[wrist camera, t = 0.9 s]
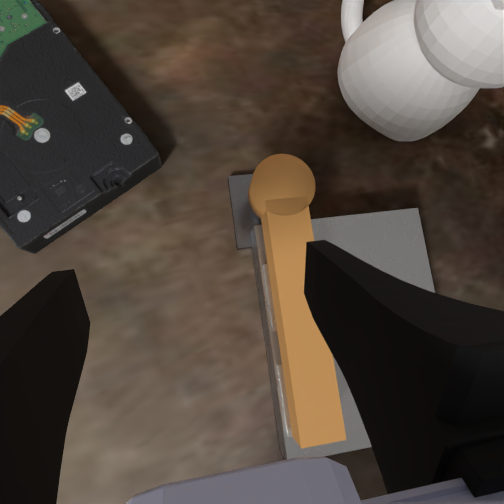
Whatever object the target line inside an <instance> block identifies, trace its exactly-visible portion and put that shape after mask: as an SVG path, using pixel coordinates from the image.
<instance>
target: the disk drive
mask: <svg viewBox="0 0 504 504" xmlns="http://www.w3.org/2000/svg"><path fill="white" fill-rule="evenodd" d="M161 167H162V163H161V159H160V155H159V153H158V151H157V150H156V148H155V147H154V146H153V145H152V143H151V142H150V141H149V139H148V137H147V135H146V134H145V133H144V132H143V131H142V129H141V128H140V127H139V125H138V124H137V123H136V122H135V121H133V120H132V118H131V117H130V116H129V114H128V113H127V111H126V110H125V109H124V108H123V106H122V105H121V104H120V103H119V102H118V100H117V99H116V98H115V97H114V95H113V94H112V93H111V92H110V90H109V89H108V88H107V87H106V85H105V84H104V83H103V81H102V80H101V79H100V78H99V76H98V75H97V74H96V73H95V72H94V70H93V69H92V68H91V66H90V65H89V64H88V63H87V61H86V60H85V59H84V58H83V57H82V55H81V54H80V53H79V52H78V50H77V49H76V47H75V46H74V45H73V44H72V43H71V41H70V40H69V39H68V37H67V36H66V35H65V33H64V32H63V31H62V30H61V29H60V28H59V27H58V25H57V24H56V23H55V21H54V20H53V18H52V17H51V15H50V14H49V13H48V12H47V10H46V9H45V7H44V6H43V5H42V4H41V3H39V1H38V0H0V227H1V228H2V229H3V230H4V232H6V233H7V235H8V236H9V237H10V239H11V240H12V241H13V242H14V243H15V245H16V246H17V247H18V248H20V249H23V250H25V251H28V252H31V253H34V254H35V253H37V252H38V251H40V250H41V249H43V248H44V247H46V246H47V245H48V244H50V243H51V242H53V241H54V240H55V239H57V238H59V237H60V236H62V235H63V234H65V233H66V232H68V231H69V230H71V229H72V228H73V227H75V226H76V225H78V224H79V223H81V222H82V221H84V220H86V219H87V218H88V217H90V216H91V215H93V214H94V213H96V212H97V211H98V210H100V209H101V208H103V207H104V206H106V205H107V204H109V203H110V202H112V201H113V200H115V199H116V198H117V197H119V196H120V195H122V194H123V193H125V192H126V191H128V190H129V189H131V188H132V187H134V186H135V185H137V184H138V183H139V182H141V181H142V180H143V179H145V178H146V177H148V176H149V175H150V174H152V173H154V172H155V171H157V170H158V169H160V168H161Z"/></svg>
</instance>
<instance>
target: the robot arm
mask: <svg viewBox="0 0 504 504" xmlns="http://www.w3.org/2000/svg"><path fill="white" fill-rule="evenodd" d="M304 295H305V298H306V301H307V304H308V306H309V309H310V312H311V314H312V317H313V319H314V321H315V323H316V325H317V327H318V329H319V331H320V332H321V334H322V336H323V338H324V340H325V342H326V344H327V345H328V347H329V349H330V351H331V353H332V355H333V357H334V358H335V360H336V362H337V364H338V366H339V368H340V369H341V371H342V373H343V376H344V378H345V380H346V382H347V384H348V386H349V389H350V391H351V394H352V396H353V399H354V401H355V404H356V406H357V409H358V411H359V414H360V416H361V419H362V422H363V424H364V427H365V430H366V432H367V435H368V438H369V440H370V443H371V446H372V449H373V452H374V454H375V457H376V460H377V463H378V466H379V469H380V472H381V474H382V477H383V481H384V484H385V487H386V490H387V493H388V494H387V495H383V496H378V497H374V498H369V499H365V500H360V498H359V496H358V493H357V491H356V488H355V486H354V483H353V481H352V479H351V476H350V474H349V471H348V469H347V467H346V466H344V465H342V464H340V463H337V462H335V461H333V460H331V459H329V458H326V457H323V456H318V457H296V458H291V459H286V460H282V461H277V462H272V463H267V464H262V465H257V466H252V467H247V468H242V469H237V470H232V471H228V472H223V473H218V474H213V475H208V476H203V477H198V478H193V479H188V480H183V481H178V482H174V483H169V484H164V485H161V486H158V487H156V488H153V489H150V490H147V491H145V492H142V493H139V494H136V495H135V496H134V497H133V498H132V499H130V500H129V501H128V502H127V503H126V504H504V311H500V310H495V309H491V308H486V307H482V306H478V305H474V304H470V303H466V302H462V301H459V300H456V299H452V298H449V297H446V296H442V295H439V294H436V293H433V292H431V291H428V290H425V289H423V288H420V287H417V286H415V285H412V284H410V283H407V282H405V281H403V280H400V279H398V278H396V277H394V276H392V275H390V274H388V273H386V272H383V271H381V270H379V269H378V268H376V267H374V266H372V265H370V264H368V263H366V262H364V261H363V260H361V259H359V258H357V257H355V256H354V255H352V254H350V253H348V252H347V251H345V250H343V249H341V248H340V247H338V246H336V245H334V244H332V243H330V242H328V241H326V240H318V241H310V242H306V261H305V280H304ZM89 329H90V320H89V317H88V314H87V311H86V307H85V304H84V301H83V297H82V294H81V291H80V287H79V284H78V281H77V277H76V274H75V271H74V269H73V270H64V271H56V272H52V273H50V274H49V275H48V276H46V277H45V278H44V279H43V280H42V281H40V282H39V283H38V284H37V285H36V286H35V287H34V288H32V289H31V290H30V291H29V292H28V293H27V294H26V295H24V296H23V297H22V298H21V299H20V300H19V301H18V302H16V303H15V304H14V305H13V306H12V307H11V308H9V309H8V310H7V311H6V312H5V313H3V314H2V315H1V316H0V504H56V501H57V493H58V485H59V478H60V470H61V463H62V456H63V449H64V443H65V436H66V431H67V426H68V422H69V417H70V413H71V410H72V406H73V402H74V399H75V395H76V391H77V388H78V384H79V380H80V376H81V373H82V369H83V365H84V361H85V357H86V353H87V347H88V339H89Z"/></svg>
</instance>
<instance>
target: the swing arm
mask: <svg viewBox="0 0 504 504" xmlns="http://www.w3.org/2000/svg"><path fill="white" fill-rule="evenodd" d="M314 194H315V179H314V176H313V173H312V171H311V170H310V168H309V167H308V166H307V164H306V163H304V162H303V161H302V160H301V159H299V158H297V157H295V156H292V155H289V154H275V155H272V156H269V157H267V158H266V159H264V160H263V161H262V162H260V164H259V165H258V166H257V167H256V169H255V171H254V174H253V177H252V179H251V182H250V185H249V189H248V199H249V203H250V206H251V208H252V210H253V211H254V212H255V214H256V215H257V216H258V217H260V218H261V221H262V228H263V235H264V242H265V249H266V256H267V263H268V270H269V277H270V284H271V291H272V298H273V305H274V312H275V319H276V326H277V333H278V340H279V347H280V354H281V361H282V367H283V374H284V381H285V388H286V395H287V402H288V409H289V416H290V423H291V430H292V437H293V438H294V439H295V441H296V442H297V443H298V445H299V446H300V448H301V449H302V448H307V447H312V446H318V445H323V444H328V443H333V442H338V441H343V440H346V433H345V427H344V421H343V415H342V409H341V403H340V396H339V390H338V384H337V378H336V372H335V366H334V359H333V355H332V353H331V351H330V349H329V347H328V345H327V344H326V342H325V340H324V338H323V336H322V334H321V332H320V331H319V329H318V327H317V325H316V323H315V321H314V319H313V317H312V314H311V312H310V309H309V306H308V304H307V301H306V298H305V295H304V280H305V261H306V242H310V241H314V236H313V230H312V224H311V218H310V211H309V204H310V203H311V201H312V199H313V197H314Z"/></svg>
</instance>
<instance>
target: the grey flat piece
mask: <svg viewBox="0 0 504 504" xmlns="http://www.w3.org/2000/svg"><path fill="white" fill-rule="evenodd" d="M252 177H253V174H247V175H235V176H228V185H229V193H230V200H231V208H232V215H233V223H234V230H235V238H236V245H237V250H239V249H247V248H252V247H253V245H252V237H251V230H252V229H253V227H254V225H262V221H261V218H260V217H258V216H257V215H256V214H255V212H254V211H253V210H252V208H251V206H250V203H249V199H248V189H249V185H250V182H251V179H252Z"/></svg>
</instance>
